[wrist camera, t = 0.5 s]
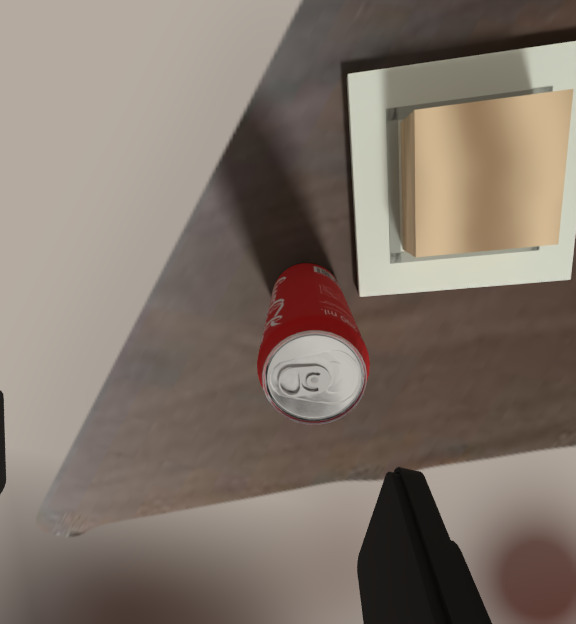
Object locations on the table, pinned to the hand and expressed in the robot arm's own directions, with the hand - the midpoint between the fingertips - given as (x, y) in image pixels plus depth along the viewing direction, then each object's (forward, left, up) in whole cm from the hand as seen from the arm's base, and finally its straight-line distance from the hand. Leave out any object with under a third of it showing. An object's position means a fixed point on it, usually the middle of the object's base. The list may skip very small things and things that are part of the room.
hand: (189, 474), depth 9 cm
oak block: (-14, -6, -23) cm, 27 cm away
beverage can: (-2, +2, -24) cm, 24 cm away
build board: (-14, -6, -24) cm, 28 cm away
